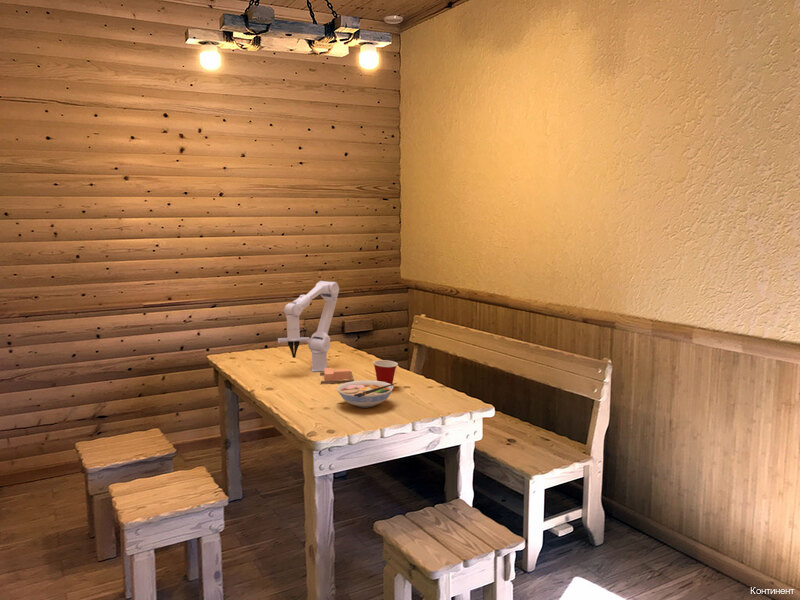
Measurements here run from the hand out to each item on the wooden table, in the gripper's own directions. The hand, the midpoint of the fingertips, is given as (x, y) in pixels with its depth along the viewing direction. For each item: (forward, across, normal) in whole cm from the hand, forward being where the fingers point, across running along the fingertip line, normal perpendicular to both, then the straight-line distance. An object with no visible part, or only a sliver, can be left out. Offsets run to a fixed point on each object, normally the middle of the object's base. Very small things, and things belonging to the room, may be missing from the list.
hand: (294, 357), depth 309 cm
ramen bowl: (+10, +29, -51) cm, 59 cm away
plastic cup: (+10, +40, -28) cm, 50 cm away
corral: (+9, +19, -7) cm, 22 cm away
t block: (+10, +20, -7) cm, 23 cm away
